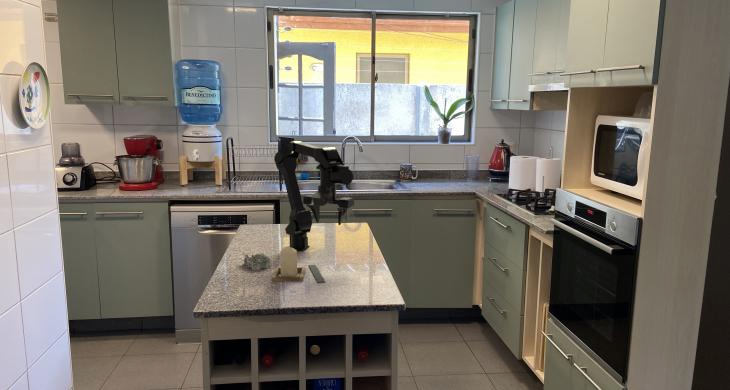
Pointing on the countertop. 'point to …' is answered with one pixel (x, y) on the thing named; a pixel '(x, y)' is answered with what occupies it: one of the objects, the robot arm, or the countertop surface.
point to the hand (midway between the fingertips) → (328, 223)
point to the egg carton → (257, 261)
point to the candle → (288, 261)
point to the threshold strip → (316, 274)
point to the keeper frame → (288, 278)
